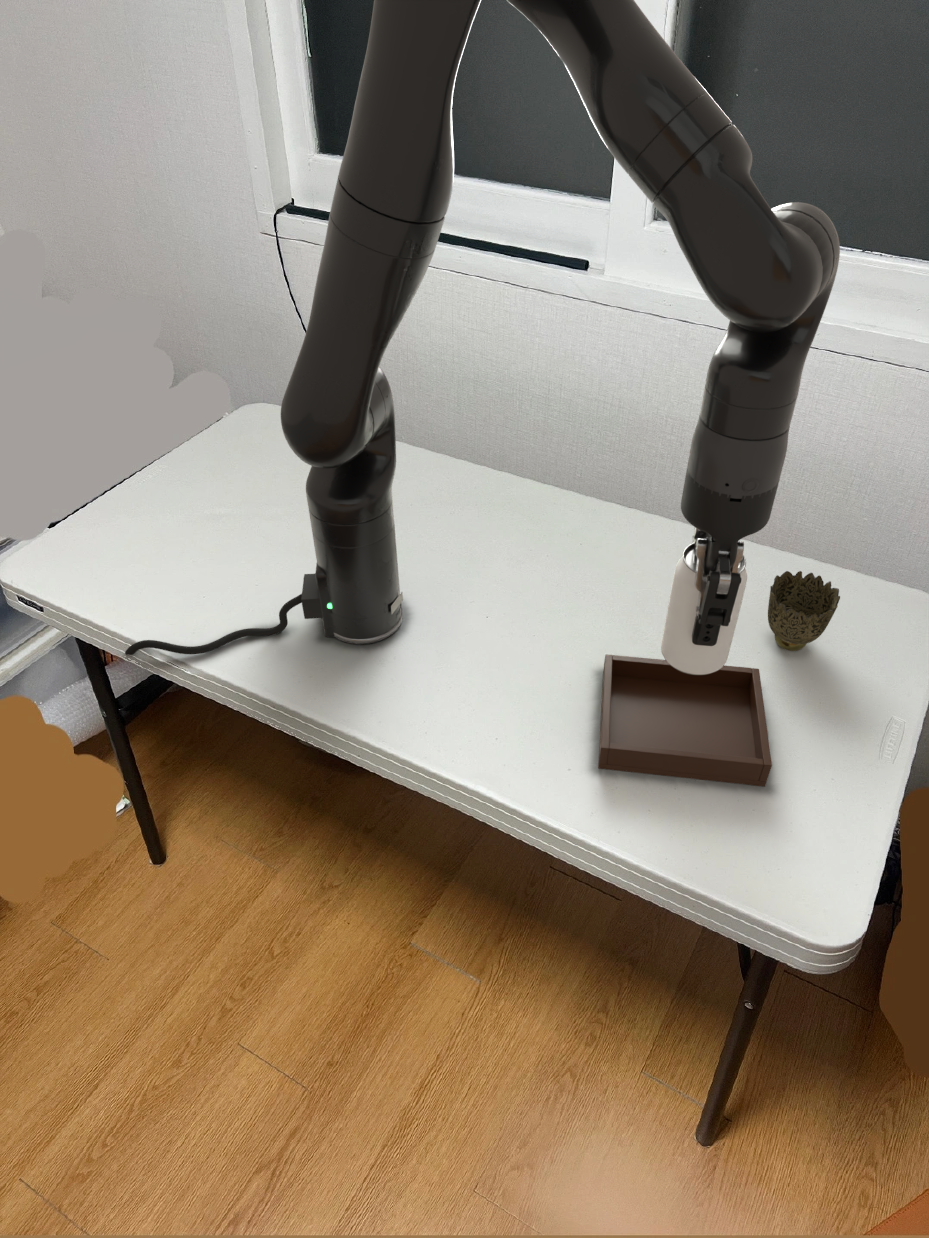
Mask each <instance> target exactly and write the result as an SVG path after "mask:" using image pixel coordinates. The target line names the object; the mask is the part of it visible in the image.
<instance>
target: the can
mask: <svg viewBox="0 0 929 1238" xmlns="http://www.w3.org/2000/svg"><path fill="white" fill-rule="evenodd" d="M695 549H696V547H694V543H690V544H688V545H687V546H686V547H685V548H684V550H683V551H682V556H681V557H680V558H679V560H678V561H677V562H676V565H675V569H674V573H673V579H672V583H671V587H670V593H669V594H670V595H669V599H668V605H667V610H666V616H665V621H664V628H663V633H662V637H661V638H662V639H661V646H660V650H661V651H660V652H661V655H662V657H663V659H664V660H666V661H667V662H668V663H669V664H670V665H671V666H672V667H674V668H675V669H677V670H679V671H681V672H683V673H686V674H691V675H706V674H710V673H713V672H715V671H718V670H719V669H721V668H722V667H723V666H724V665H725V664H726V663H727V661H728V659H729V655H730V652H731V646H732V643H733V640H734V639H733V638H734V636H735V631H736V627H737V624H738V619H739V616H740V612H741V609H742V603H743V599H744V595H745V591H746V587H747V582H748V572H747V568H746V567H747V558H746V557H745V555H744V554H743V558H742V560H741V561H740V562H739V566H738V573H740V577H741V583H740V585H739V589H738V592H737V596H736V600H735V603H734V607H733V610H732V614H731V620H730V623H729V625H728V626H722V625H721V626H720V630H719V635H718V639H717V643H716V644H715V645H714V646H704V645H695V644H693V643H692V632H693V628H694V623H695V618H696V613H697V612H696V606H697V605H698V596H699V591H698V590H697V589H696V587H695V585H694V582H695V574H696V565H697V556H696V555H695ZM703 580H704V581H707V574H706V573H705V572H704V571H703ZM725 666H726V665H725Z"/></svg>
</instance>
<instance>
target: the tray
mask: <svg viewBox="0 0 929 1238" xmlns="http://www.w3.org/2000/svg"><path fill="white" fill-rule="evenodd" d="M601 682H602V684H601V701H600V702H601V703H600V719H599V720H600V721H599V726H600V727H599V740H598V741H599V743H598V744H599V745H598V763H597V768H598V769H599V770H600V769H601V770H607V771H608V770H609V771H618V772H627V773H637V774H645V775H654V776H663V777H673V778H680V779H681V778H682V779H691V780H699V781H700V780H701V781H708V782H709V781H710V782H717V783H718V782H719V783H726V784H727V783H728V784H735V785H736V784H738V785H745V786H755V787H766V785H767V783H768V780H769V777H770V773H771V771H772V768H773V762H772V755H771V748H770V740H769V733H768V732H769V731H768V726H767V725H768V724H767V719H766V711H765V710H766V709H765V703H764V697H763V695H764V694H763V689H762V680H761V673H760V669H759V668H755V667H745V666H736V665H724V666H723V667H722V668H721V669H719V670H718V671H715V672H713V673H710V674H706V675H691V674H686V673H683V672H681V671H679V670H677V669H675V668H674V667H672V666H671V665H670V664H669V663H668V662H667V661H666V660H665V659H660V658H650V657H649V658H648V657H639V656H629V655H628V656H627V655H619V654H618V655H617V654H607V653H606V654H605V655H604V661H603V669H602V681H601Z"/></svg>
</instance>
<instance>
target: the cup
mask: <svg viewBox="0 0 929 1238" xmlns="http://www.w3.org/2000/svg"><path fill="white" fill-rule="evenodd" d="M824 583H825V584H824ZM769 589H770V590H769V597H768V605H767V606H768V607H767V622H768V626H769V628H770V630H771V632H772V633H773V635H774V641H775V643H776V644H777V646H778V647H780V648H781V649H783V650H785V651H789V652H798V651H801V650H802V649H804V648H805V647H806V646H807V644H809V643H812V642H814V641H816V640H817V639H818V638H820V637H821V636H822V634H823V633H824V632H825V630H826V629H827V628H828V625H829V624H830V622H831V620H832V618H833V616H834V614H835V612H836V610H837V608H838V604H839V603H840V600H841V595H839V594H840V589H839V588H838V587H832V581H831V580H829V581H828V582H827V581H826V582H824V580H823V578H822V576H821V575H817V576H815V575H814V573H813V572H809V573H807V574H806V575H805V576H803V571H801V570H799V571H797V572H796V573H795V574H793V573H792V572H791V571H789V570H786V571H784V572H782V574H781V575H777V574H776V575H775V577H774V579H773V584H772V585H770V588H769Z"/></svg>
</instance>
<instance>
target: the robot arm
mask: <svg viewBox="0 0 929 1238" xmlns="http://www.w3.org/2000/svg"><path fill="white" fill-rule="evenodd" d="M506 1H507V2H508V4H510V5H511V6H513V7H514V8H515V9H516V10H517V11H518V12H519V13H521V15H523V16H524V17H525V18H526V19H527V20H528V21H529V22H530V23H531V24H532V25H533V26H534V27H535V28H536V29H537V30H538V31H539V32H540V33H541V35H542V36H543V37H544V38H545V39H546V41H547V42H548V43H549V45H550V46H551V47H552V49H553V50H554V51H555V53H556V54H557V56H558V57H559V59H560V61H561V62H562V63H563V65H564V67H565V68H566V70H567V73H568V74H569V76H570V78H571V80H572V82H573V84H574V86H575V88H576V90H577V92H578V94H579V96H580V99H581V101H582V103H583V106H584V107H585V109H586V111H587V114H588V116H589V119H590V120H591V122H592V124H593V126H594V128H595V130H596V131H597V133H598V135H599V137H600V139H601V140H602V142H603V143H604V145H605V146H606V148H607V149H608V151H609V152H610V154H611V155H612V156H613V158H614V159H615V160H616V162H617V163H618V165H619V166H620V167H621V168H622V169H623V171H624V173H626V174H627V175H628V177H629V178H630V179H631V180H632V182H633V183H635V185H636V186H637V187H638V188H639V190H640V191H641V192H642V193H643V195H645V197H646V198H647V199H648V200H649V202H650V203H651V204H653V206H654V207H655V208H656V210H657V211H658V212H659V213H660V214H661V215H662V216H663V217H664V218H665V220H666V221H667V222H668V223H669V227H670V228H671V230H672V232H673V235H674V237H675V239H676V242H677V244H678V246H679V248H680V250H681V252H682V254H683V255H684V258H685V259H686V261H687V263H688V265H689V267H690V269H691V271H692V272H693V275H694V276H695V278H696V280H697V282H698V283H699V286H700V287H701V290H702V291H703V292H704V294H705V296H706V297H707V298H708V300H709V301H710V302H711V303H712V305H713V306H714V307H715V308H716V309H717V310H718V312H720V313H721V314H722V315H723V316H724V317H725V318H726V319H728V320H729V322H728V326H727V329H726V332H725V334H724V336H723V338H722V339H721V341H720V343H719V344H718V346H717V347H716V349H715V350H714V353H713V355H712V357H711V359H710V362H709V365H708V368H707V372H706V377H705V381H704V388H703V394H702V398H701V405H700V410H699V415H698V419H697V422H696V425H695V427H694V431H693V434H692V437H691V443H690V449H689V455H688V460H687V465H686V471H685V477H684V482H683V488H682V493H681V500H680V511H681V513H682V516H683V517H684V519H685V520H686V521H687V522H688V523H689V524H690V525H691V526H693V530H694V531H693V535H692V539H691V540H692V543H694V547H696V549H695V555H696V556H697V565H696V574H695V582H694V585H695V587H696V589H697V590H698V591H699V596H698V605H697V606H696V612H697V613H696V618H695V623H694V628H693V632H692V643H693V644H695V645H704V646H714V645H715V644H716V643H717V639H718V635H719V630H720V626H721V625H722V626H728V625H729V623H730V620H731V614H732V610H733V607H734V603H735V600H736V596H737V592H738V589H739V585H740V583H741V577H740V573H738V566H739V562H740V561H741V560H742V558H743V555H744V551H745V542H744V541H743V540H742V539H743V538H746V537H748V536H750V535H754V534H757V533H758V532H760V531H761V530H763V529H764V528H765V527H766V526H767V524H768V523H769V522H770V518H771V515H772V512H773V511H772V510H773V507H774V504H775V500H776V495H777V491H778V487H779V483H780V479H781V476H782V472H783V467H784V464H785V461H786V456H787V451H788V446H789V445H788V444H789V434H790V433H789V432H790V428H791V423H792V420H793V415H794V413H795V407H796V404H797V400H798V395H799V391H800V387H801V383H802V382H801V381H802V375H803V372H804V368H805V363H806V361H807V357H808V354H809V351H810V349H811V347H812V344H813V342H814V340H815V338H816V334H817V332H818V329H819V327H820V324H821V322H822V319H823V316H824V313H825V310H826V308H827V305H828V302H829V299H830V296H831V293H832V290H833V286H834V283H835V281H836V276H837V273H838V268H839V265H840V257H841V256H840V255H841V254H840V253H841V245H840V244H841V243H840V239H839V234H838V231H837V229H836V226H835V224H834V223H833V221H832V220H831V218H830V217H829V215H827V213H825V211H823V210H822V209H821V208H820V207H817V206H816V205H814V204H811V203H807V202H801V201H799V202H798V201H794V202H787V203H783V204H779V205H777V206H775V207H772V208H771V206H770V205H769V203H768V202H767V200H766V199H765V197H764V196H763V194H762V193H761V191H760V189H759V188H758V186H757V185H756V184H755V181H754V180H753V178H752V176H751V170H752V166H753V161H754V158H753V157H754V156H753V152H752V149H751V147H750V146H749V143H748V142H747V140H746V139H745V137H744V136H743V135H742V133H741V131H740V130H739V129H738V127H737V126H736V125H735V124H733V122H732V120H731V119H730V118H729V116H727V114H726V113H725V112H724V110H722V108H721V107H720V106H719V104H718V103H717V102H716V101H715V100H714V98H713V97H712V96H711V95H710V94H709V92H708V91H707V90H706V88H704V86H703V85H702V84H701V83H700V82H699V80H698V79H697V78H696V76H694V75H693V73H692V72H691V70H689V68H688V67H687V66H686V65H685V64H684V62H683V61H682V60H681V59H680V57H679V56H678V55H677V54H676V53H675V51H674V50H673V49H672V48H671V46H670V45H669V44H668V42H667V41H666V40H665V39H664V37H663V36H662V35H661V34H660V33H659V31H658V30H657V29H656V28H655V26H654V25H653V24H652V22H651V21H650V20H649V19H648V16H646V14H645V13H644V12H643V10H642V9H641V8H640V6H639V5H638V4H637V2H636V1H635V0H506ZM481 2H482V0H373V6H372V12H371V13H372V15H371V19H370V20H371V21H370V28H369V35H368V40H367V45H366V46H367V47H366V52H365V55H364V60H363V65H362V69H361V73H360V78H359V82H358V88H357V92H356V98H355V102H354V106H353V111H352V117H351V122H350V127H349V132H348V137H347V142H346V145H345V149H344V152H343V156H342V160H341V163H340V167H339V170H338V175H337V178H336V179H337V180H336V182H335V183H336V184H335V188H334V193H333V198H332V201H331V206H330V211H329V216H328V221H327V227H326V232H325V239H324V244H323V248H322V253H321V257H320V262H319V267H318V272H317V277H316V282H315V287H314V292H313V297H312V304H311V309H310V315H309V319H308V324H307V327H306V332H305V335H304V339H303V341H302V344H301V348H300V350H299V353H298V356H297V358H296V361H295V364H294V367H293V370H292V372H291V375H290V378H289V381H288V383H287V386H286V389H285V392H284V395H283V398H282V401H281V406H280V424H281V430H282V433H283V436H284V438H285V441H286V443H287V444H288V446H289V448H290V450H291V451H292V452H293V453H294V455H295V456H296V457H297V458H298V459H300V460H301V461H302V462H304V463H305V464H307V465H308V466H311V467H310V470H309V472H308V475H307V478H306V481H305V495H306V496H305V497H306V502H307V509H308V515H309V520H310V527H311V533H312V539H313V546H314V552H315V553H314V554H315V558H316V559H315V560H316V563H315V564H316V565H315V573H304V574H303V580H302V581H303V582H302V590H301V593H300V594H298V595H297V596H295V597H293V598H291V599H290V600H288V601H287V602H285V603H284V604H283V605H282V606H281V608H280V609H279V612H278V619H279V623H278V624H276V626H273V627H268V628H267V627H265V628H264V627H263V628H262V627H259V628H258V627H252V628H251V627H250V628H241V629H239V630H236V631H233V632H231V633H228V634H226V635H224V636H221V637H220V638H218V639H216V640H214V641H212V642H208V643H205V644H202V645H195V646H188V645H181V644H174V643H170V642H165V641H160V640H155V639H143V640H139V641H137V642H134V643H133V644H131V645H130V646H129V647H128V648H126V650H125V652H124V654H126V655H127V656H130V655H131V656H132V655H133V654H135V653H137V651H139V650H142V649H146V648H147V649H157V650H162V651H165V652H170V653H174V654H180V655H201V654H205V653H206V654H207V653H210V652H213V651H215V650H217V649H219V648H221V647H224V646H225V645H227V644H229V643H231V642H233V641H236V640H238V639H242V638H245V637H246V638H247V637H266V636H274V635H278V634H280V633H282V632H283V631H285V629H286V628H287V626H288V623H289V621H288V613H289V611H290V610H292V609H293V608H295V607H296V606H299V605H300V604H301V606H302V612H303V618H304V619H305V620H313V619H314V620H315V619H322V626H323V632H324V637H326V638H335V639H337V640H339V641H341V642H343V643H348V644H352V645H367V644H368V645H369V644H372V643H377V642H380V641H383V640H386V639H387V638H388V637H390V636H392V635H393V634H394V633H395V632H397V630H398V629H399V628H400V626H401V625H402V622H403V617H404V616H403V607H402V602H403V600H404V596H403V591H401V588H400V587H401V586H400V575H399V574H400V573H399V563H398V551H397V549H398V548H397V536H396V527H395V526H396V525H395V513H394V501H393V484H394V479H395V474H396V470H397V437H396V435H397V434H396V411H395V402H394V401H395V400H394V396H393V392H392V388H391V385H390V383H389V380H388V378H387V376H386V374H385V372H384V371H383V370H382V368H381V367H380V365H381V363H382V361H383V358H384V354H385V353H386V351H387V348H388V346H389V344H390V342H391V340H392V339H393V337H394V335H395V333H396V331H397V330H398V328H399V326H400V324H401V322H402V321H403V319H404V317H405V315H406V313H407V311H408V309H409V308H410V306H411V303H412V301H413V300H414V298H415V296H416V294H417V292H418V290H419V288H420V286H421V284H422V281H423V280H424V277H425V276H426V273H427V271H428V269H429V266H430V264H431V262H432V259H433V256H434V253H435V251H436V247H437V244H438V241H439V238H440V235H441V232H442V228H443V225H444V222H445V220H446V216H447V213H448V210H449V206H450V203H451V198H452V194H453V187H454V180H455V179H454V177H455V150H454V149H455V148H454V131H453V109H452V108H453V99H454V98H453V97H454V90H455V83H456V78H457V74H458V71H459V66H460V63H461V61H462V57H463V54H464V50H465V48H466V44H467V41H468V38H469V34H470V32H471V29H472V26H473V22H474V21H475V18H476V15H477V12H478V10H479V7H480V4H481ZM692 543H691V544H692ZM703 571H704V572H705V573H706V574H707V581H704V580H703Z"/></svg>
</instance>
